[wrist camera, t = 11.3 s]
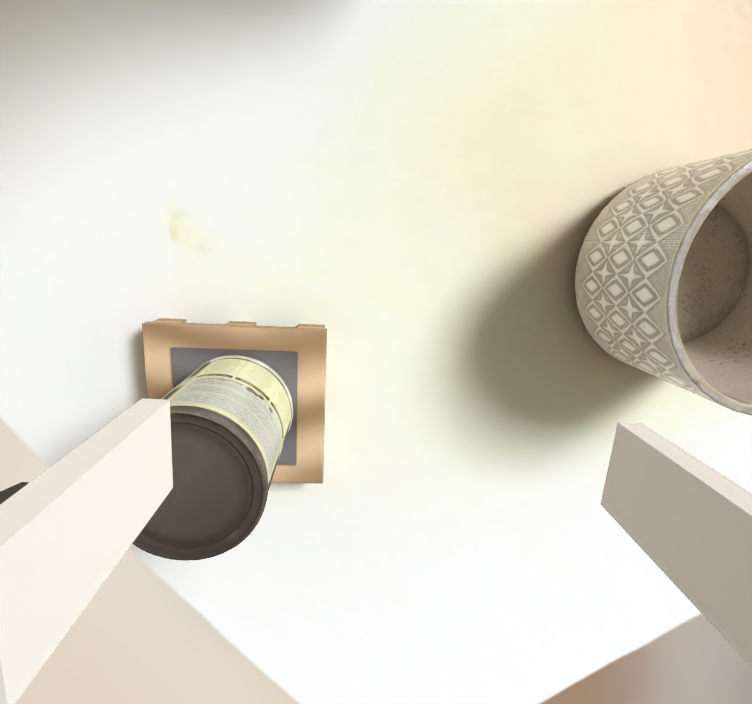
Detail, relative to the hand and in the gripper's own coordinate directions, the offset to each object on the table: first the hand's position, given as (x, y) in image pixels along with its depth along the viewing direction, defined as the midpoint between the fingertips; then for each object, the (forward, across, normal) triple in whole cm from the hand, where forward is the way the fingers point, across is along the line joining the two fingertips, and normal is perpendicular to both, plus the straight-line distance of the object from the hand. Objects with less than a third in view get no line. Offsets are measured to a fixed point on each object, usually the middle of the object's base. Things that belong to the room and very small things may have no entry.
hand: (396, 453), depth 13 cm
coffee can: (+28, -11, -10) cm, 32 cm away
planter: (+31, +28, +5) cm, 42 cm away
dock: (+31, -12, -10) cm, 34 cm away
